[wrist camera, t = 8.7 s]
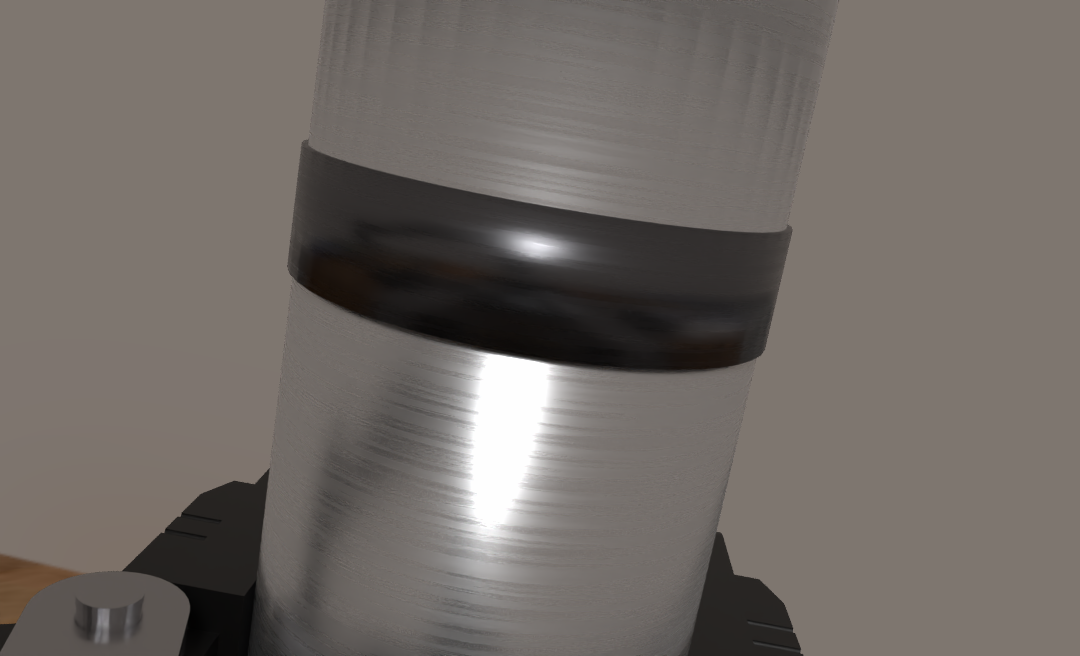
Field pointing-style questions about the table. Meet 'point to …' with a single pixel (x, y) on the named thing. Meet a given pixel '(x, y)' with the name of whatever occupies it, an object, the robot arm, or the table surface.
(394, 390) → the silver tall cylinder
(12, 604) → the table surface
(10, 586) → the table surface
